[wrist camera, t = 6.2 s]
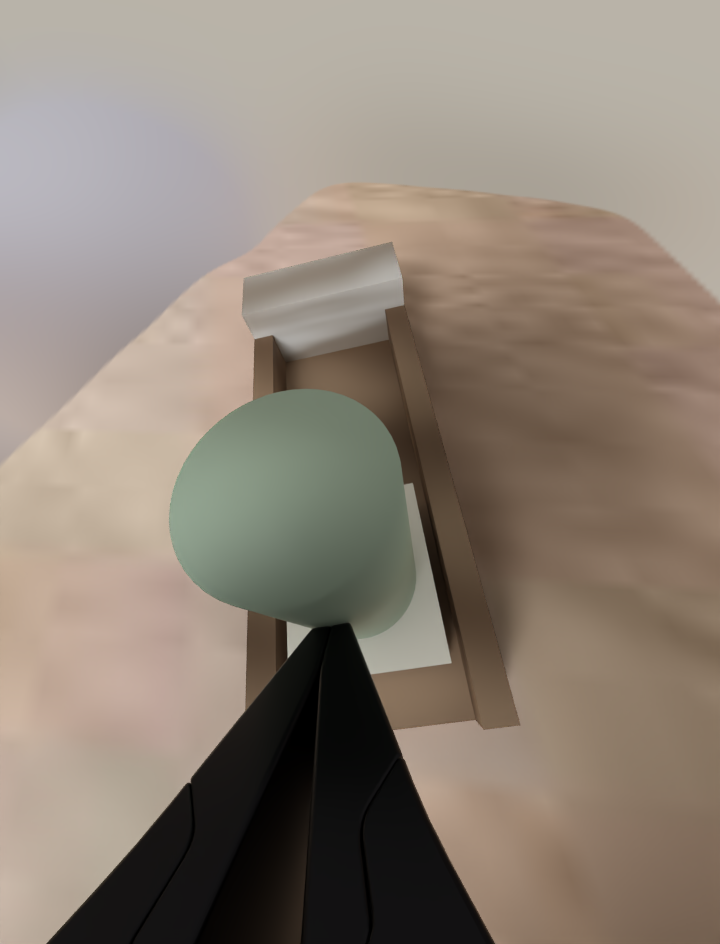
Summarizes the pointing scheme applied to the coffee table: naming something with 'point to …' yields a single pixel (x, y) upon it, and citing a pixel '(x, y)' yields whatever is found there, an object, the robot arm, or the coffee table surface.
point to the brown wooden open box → (422, 461)
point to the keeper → (311, 526)
